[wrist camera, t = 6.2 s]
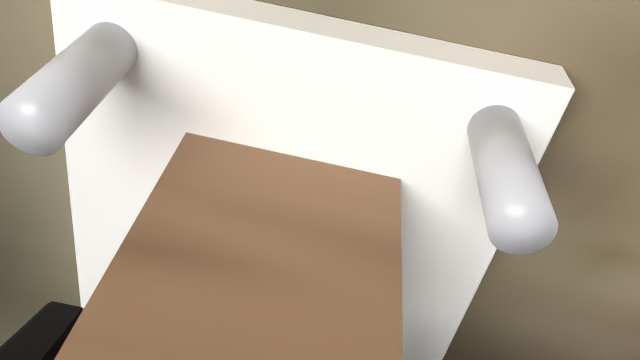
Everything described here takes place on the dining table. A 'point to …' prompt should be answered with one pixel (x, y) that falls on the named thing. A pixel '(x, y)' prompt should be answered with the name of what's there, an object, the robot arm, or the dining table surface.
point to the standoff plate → (300, 128)
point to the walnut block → (252, 264)
